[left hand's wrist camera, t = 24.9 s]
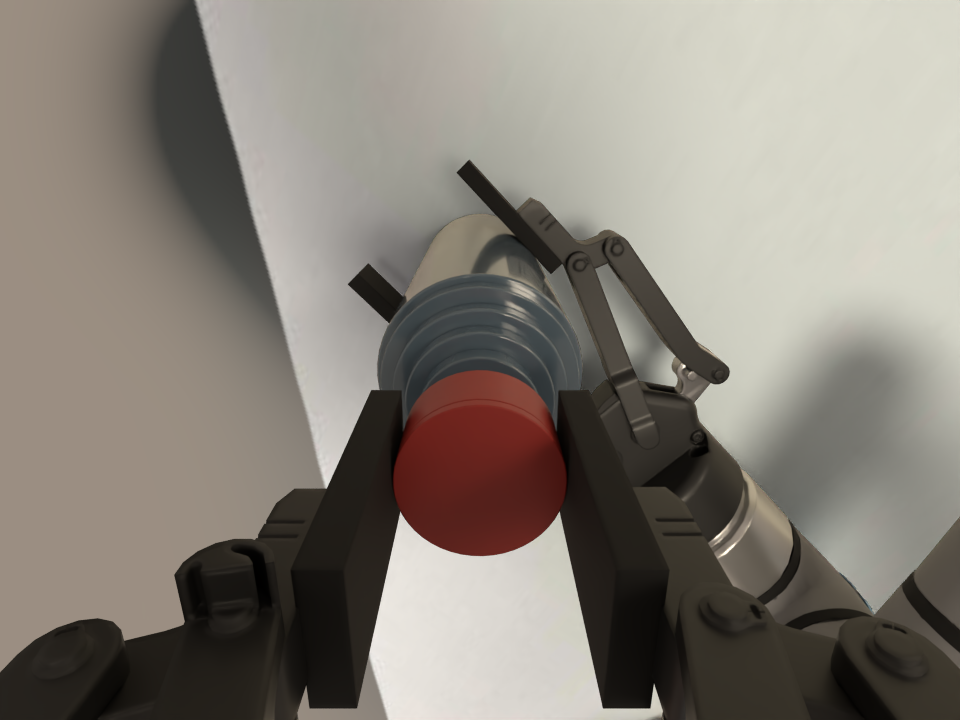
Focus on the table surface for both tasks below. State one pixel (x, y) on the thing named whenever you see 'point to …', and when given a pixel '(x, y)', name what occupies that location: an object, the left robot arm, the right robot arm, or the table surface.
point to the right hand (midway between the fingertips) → (409, 221)
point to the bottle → (479, 317)
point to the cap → (479, 465)
